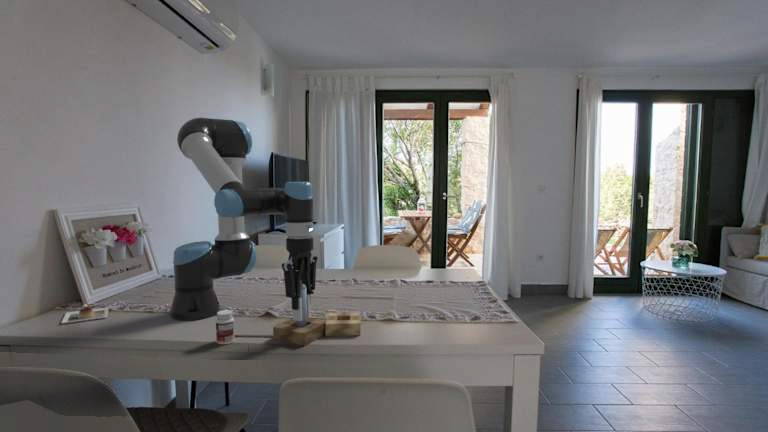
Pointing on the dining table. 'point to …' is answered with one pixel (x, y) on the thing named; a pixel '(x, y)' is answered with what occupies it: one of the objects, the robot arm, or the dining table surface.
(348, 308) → the dining table surface
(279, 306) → the dining table surface
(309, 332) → the square wooden ring
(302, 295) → the blue-grey peg
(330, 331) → the light wood square frame
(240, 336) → the thin wooden stick
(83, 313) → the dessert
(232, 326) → the pill bottle
